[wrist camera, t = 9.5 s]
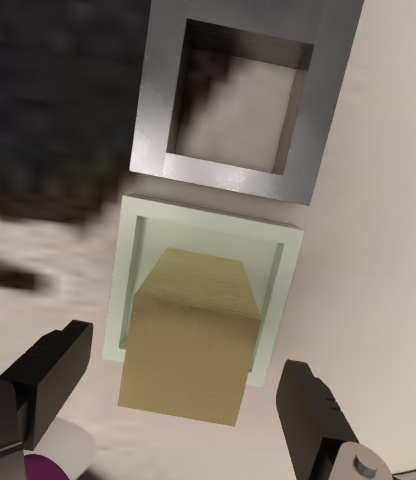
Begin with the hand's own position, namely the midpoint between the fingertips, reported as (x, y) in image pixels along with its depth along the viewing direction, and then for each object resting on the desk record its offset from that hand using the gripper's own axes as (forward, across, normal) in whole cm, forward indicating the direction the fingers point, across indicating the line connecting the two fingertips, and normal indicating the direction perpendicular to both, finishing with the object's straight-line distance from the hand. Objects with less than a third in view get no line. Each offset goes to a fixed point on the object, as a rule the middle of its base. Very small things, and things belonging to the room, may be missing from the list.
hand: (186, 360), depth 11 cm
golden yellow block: (+8, 0, 0) cm, 8 cm away
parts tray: (+8, 0, 0) cm, 8 cm away
